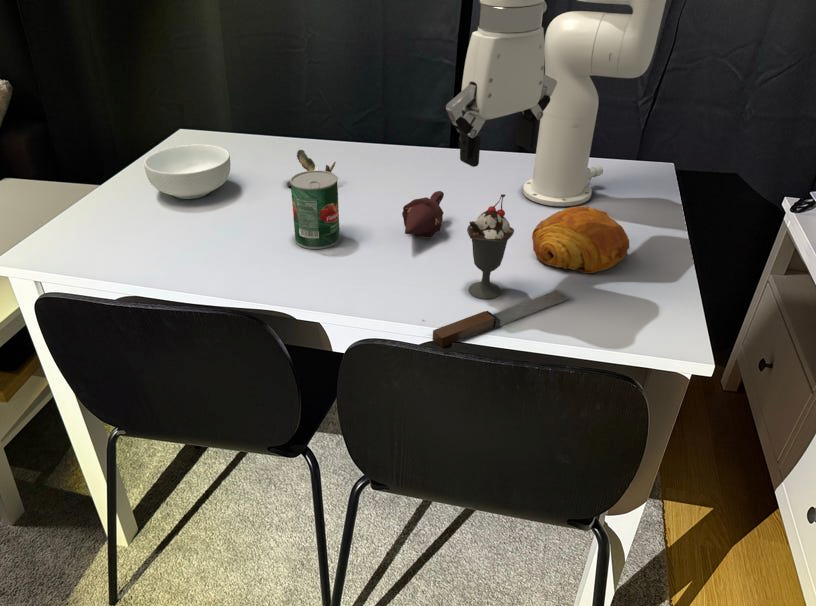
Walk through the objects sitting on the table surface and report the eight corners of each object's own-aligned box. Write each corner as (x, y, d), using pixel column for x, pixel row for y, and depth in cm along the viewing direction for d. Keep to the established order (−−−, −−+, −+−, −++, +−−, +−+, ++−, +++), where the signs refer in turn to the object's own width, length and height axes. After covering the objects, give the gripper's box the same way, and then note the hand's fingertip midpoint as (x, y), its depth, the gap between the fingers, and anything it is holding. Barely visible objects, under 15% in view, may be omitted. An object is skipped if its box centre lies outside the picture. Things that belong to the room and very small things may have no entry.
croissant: (514, 264, 118) (514, 222, 113) (575, 224, 124) (577, 183, 119) (587, 296, 109) (590, 251, 103) (649, 251, 114) (655, 207, 109)
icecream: (433, 222, 113) (463, 195, 124) (392, 204, 115) (425, 178, 126) (420, 259, 117) (450, 229, 128) (380, 241, 119) (413, 213, 130)
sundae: (510, 282, 109) (520, 190, 100) (503, 304, 104) (514, 210, 95) (467, 277, 111) (474, 186, 102) (458, 298, 106) (465, 205, 97)
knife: (555, 291, 107) (556, 282, 106) (568, 300, 105) (570, 290, 104) (431, 338, 98) (431, 329, 97) (443, 348, 96) (443, 339, 95)
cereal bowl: (248, 193, 141) (244, 159, 137) (171, 216, 134) (164, 180, 130) (211, 169, 153) (206, 136, 149) (137, 188, 146) (130, 155, 141)
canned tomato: (294, 230, 127) (289, 171, 120) (337, 227, 127) (335, 168, 121) (296, 251, 121) (291, 190, 114) (342, 247, 121) (339, 186, 114)
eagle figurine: (338, 173, 145) (299, 160, 147) (334, 152, 138) (293, 139, 140) (322, 204, 143) (283, 190, 145) (316, 184, 136) (276, 169, 138)
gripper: (542, 2, 92) (527, 133, 102) (433, 24, 85) (429, 161, 96) (585, 12, 86) (565, 149, 97) (472, 35, 80) (463, 179, 90)
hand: (497, 155), depth 96 cm, fingers open, 9 cm apart
